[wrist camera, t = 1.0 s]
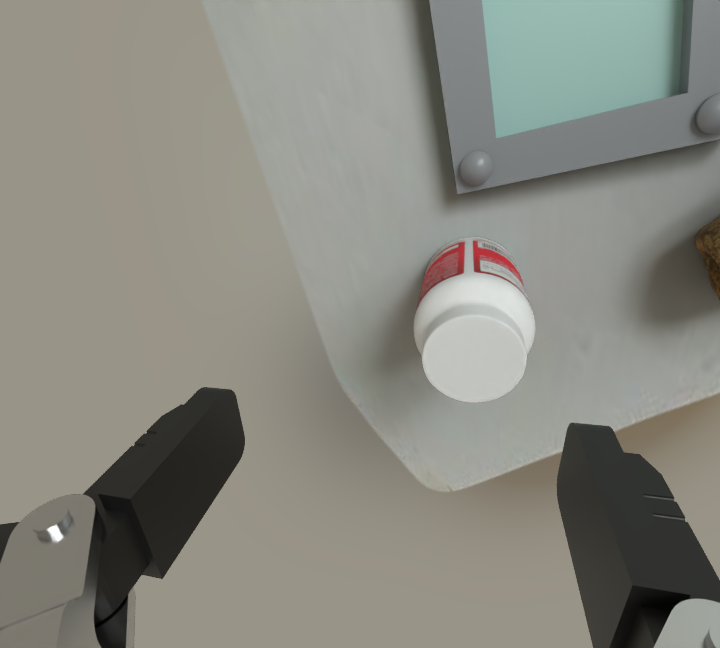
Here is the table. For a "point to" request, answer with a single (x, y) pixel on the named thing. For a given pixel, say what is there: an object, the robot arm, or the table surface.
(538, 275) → the table surface
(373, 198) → the table surface
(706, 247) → the brown textured cylinder
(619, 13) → the base plate
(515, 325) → the pill bottle
